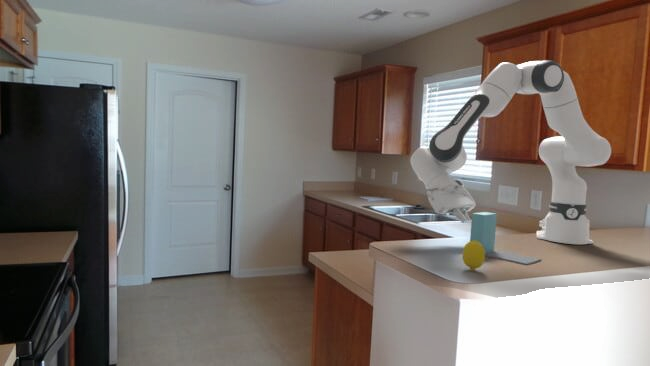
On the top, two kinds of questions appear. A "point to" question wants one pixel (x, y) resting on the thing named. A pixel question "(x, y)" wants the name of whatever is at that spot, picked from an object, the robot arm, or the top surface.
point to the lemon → (473, 255)
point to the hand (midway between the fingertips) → (466, 221)
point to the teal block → (484, 229)
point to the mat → (512, 257)
